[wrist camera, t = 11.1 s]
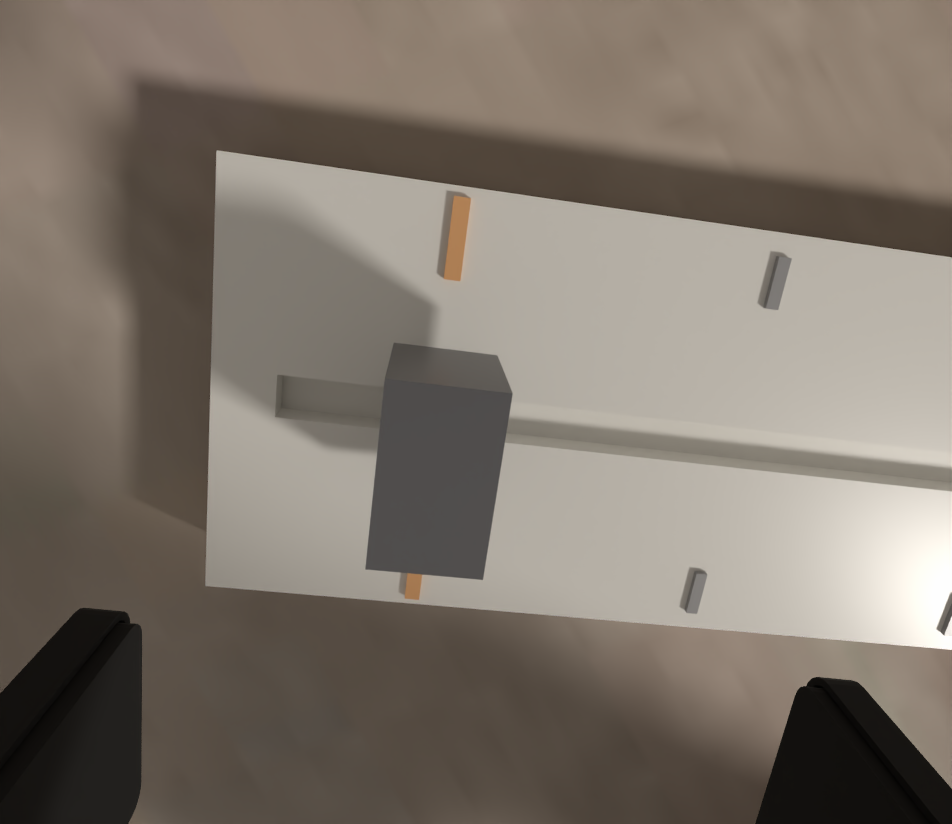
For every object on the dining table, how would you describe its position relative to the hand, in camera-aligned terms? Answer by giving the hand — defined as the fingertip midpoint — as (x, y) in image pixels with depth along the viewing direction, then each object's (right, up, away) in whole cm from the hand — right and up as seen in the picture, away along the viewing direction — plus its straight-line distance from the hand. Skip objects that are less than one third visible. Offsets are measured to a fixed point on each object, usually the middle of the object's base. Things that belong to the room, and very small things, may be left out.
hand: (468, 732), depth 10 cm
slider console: (+8, +4, +16) cm, 19 cm away
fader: (-1, +5, +13) cm, 14 cm away
